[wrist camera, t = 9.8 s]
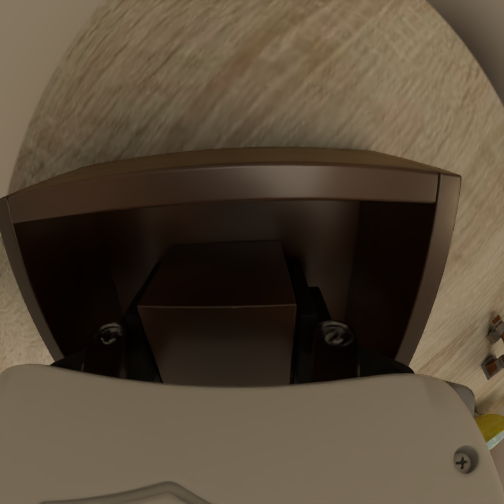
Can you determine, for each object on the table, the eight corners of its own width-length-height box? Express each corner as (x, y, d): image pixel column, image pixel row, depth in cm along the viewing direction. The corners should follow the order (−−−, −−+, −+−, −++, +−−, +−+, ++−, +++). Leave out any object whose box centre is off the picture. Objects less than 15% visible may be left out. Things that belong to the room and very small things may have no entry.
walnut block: (187, 327, 13) (169, 399, 9) (172, 243, 11) (135, 305, 7) (278, 325, 13) (288, 400, 9) (280, 239, 11) (297, 304, 7)
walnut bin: (135, 362, 15) (107, 436, 10) (82, 167, 10) (-8, 202, 5) (343, 359, 15) (368, 437, 10) (374, 151, 10) (462, 175, 5)
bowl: (460, 406, 20) (480, 445, 15) (507, 386, 21) (525, 416, 15) (414, 453, 25) (425, 486, 19) (465, 433, 25) (478, 460, 20)
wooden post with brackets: (506, 305, 13) (533, 352, 10) (483, 335, 18) (502, 371, 15) (491, 319, 13) (517, 368, 10) (470, 345, 19) (488, 382, 16)
